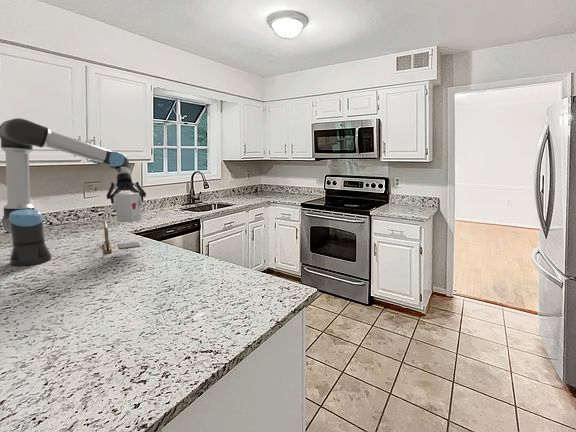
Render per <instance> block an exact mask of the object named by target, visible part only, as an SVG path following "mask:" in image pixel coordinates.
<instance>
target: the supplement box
mask: <svg viewBox="0 0 576 432" xmlns="http://www.w3.org/2000/svg"><path fill="white" fill-rule="evenodd" d="M115 203H116V209H115V213H116V222H117V223H134V222H137V221H141V220H142V213H141V207H140V196H139V193H133V192H119V193H118V194H115Z"/></svg>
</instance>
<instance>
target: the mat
mask: <svg viewBox="0 0 576 432" xmlns="http://www.w3.org/2000/svg"><path fill="white" fill-rule="evenodd" d="M139 247H141V244H140V243H139V241H132V242H131V241H130V242H124V243H122V242H121V243H118V248H119V249H120V250H122V249H132V248H133V249H134V248H139Z"/></svg>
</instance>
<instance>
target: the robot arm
mask: <svg viewBox="0 0 576 432" xmlns="http://www.w3.org/2000/svg"><path fill="white" fill-rule="evenodd" d="M33 146H34V147H38V148H49V149H53V150H56V151H60V152H63V153H66V154H67V153H68V154H71V155H73V156H77V157H79V158H80V157H81V158H85V159H87V160H90V161H91V162H92V164H96V165H99V166H103V167H105V168H106V167H107V168H108V169H109V168H110V169H113V170H115V176H116V183H114V182H111V183H110V185H111V186H110V187H109V189H108V192H107V193H106V199H107V200H110V203H111V204H112V205H113V208H114V209H113V210H114V211H116V203H115V194H119V193H122V191H124V192H126V191H130V193H139V196H140V209H141V208H142V209H143V203H144V198H146V197H147V193H146V192H145V190H144V189H143V188H142V186H141V185H139V181H136V182H133V180H132V173H131V168H130V162H129V158H128V156H127V155H126V154H124V153H121V152H119V151H112V150H110V149H106V148H103V147H100V146H97V145H94V144H91V143H88V142H86V141H82V140H79V139H76V138H73V137H70V136H67V135H63V134H61V133H57V132H55V131H51V129H49V128H48V126H47V127H46V126H44V125H41V124H39V123H35V122H33V121H30V120H28V119H25V118H12V119H8V120H5V121H3V122H1V123H0V149H1V150H3V151H4V153H5V171H6V173H5V174H6V195H7V196H6V201H7V203H6V204H5V205H4V206H3V216H2V218H1V219H2V220H1V224H2V227H3V228H4V229H5V231H7V232H8V233H10V234H11V238H12V239H11V240H12V241H11V242H12V250H11V254H10V257H9V262H10V266H14V267H16V266H17V267H21V266H31V265H38V264H42V263H46V262H48V261H50V260H51V259H52V254H51V252H50V250H49V248H48V246H47V244H46V241H45V239H46V238H45V233H44V223H43V215H42V212H41V211H39V210H37V209H35V206H34V205H33V204H31V183H30V181H31V180H30V153H31V152H32V151H34V150H33V148H34V147H33ZM116 187H117V188H116ZM115 188H116V189H115ZM114 189H115V190H114Z"/></svg>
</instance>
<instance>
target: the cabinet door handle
mask: <svg viewBox="0 0 576 432" xmlns="http://www.w3.org/2000/svg"><path fill="white" fill-rule="evenodd" d="M103 228H104V229H103V231H104V241H103V250H104V254H112V253H113V251H112V246H111V243H110V242H111V241H110V240H109V231H108V223H107V221H106V220H105V221H104V222H103Z"/></svg>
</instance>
